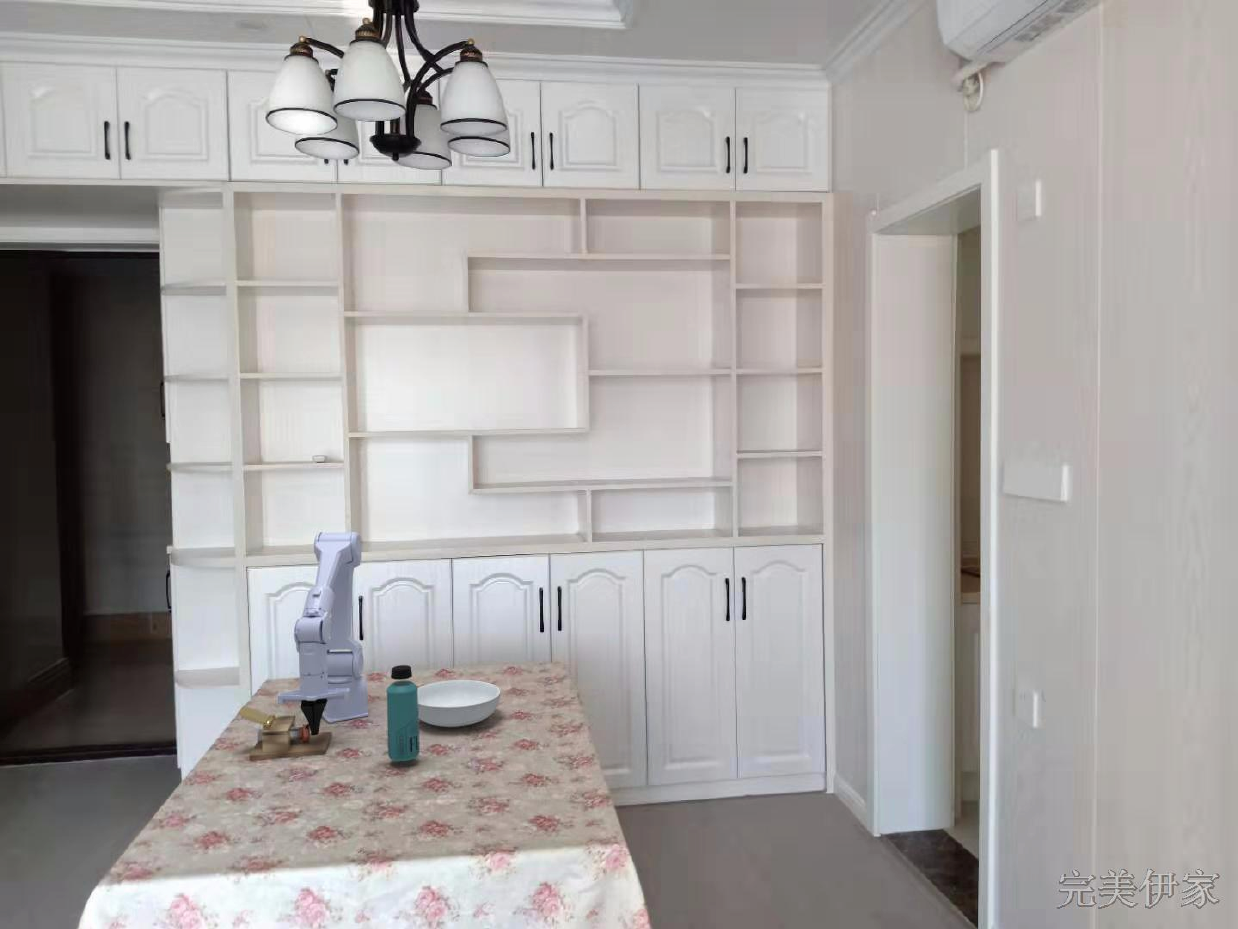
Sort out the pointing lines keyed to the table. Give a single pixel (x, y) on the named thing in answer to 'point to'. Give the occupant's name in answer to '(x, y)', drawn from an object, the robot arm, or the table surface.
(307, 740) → the pin
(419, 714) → the serving bowl
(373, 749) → the table surface
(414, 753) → the beverage bottle
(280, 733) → the hitch block
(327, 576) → the robot arm
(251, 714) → the brass hinge flap
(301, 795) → the table surface
